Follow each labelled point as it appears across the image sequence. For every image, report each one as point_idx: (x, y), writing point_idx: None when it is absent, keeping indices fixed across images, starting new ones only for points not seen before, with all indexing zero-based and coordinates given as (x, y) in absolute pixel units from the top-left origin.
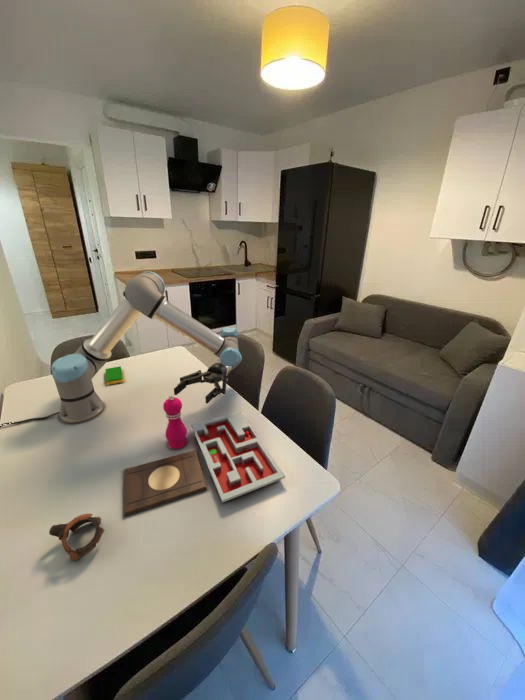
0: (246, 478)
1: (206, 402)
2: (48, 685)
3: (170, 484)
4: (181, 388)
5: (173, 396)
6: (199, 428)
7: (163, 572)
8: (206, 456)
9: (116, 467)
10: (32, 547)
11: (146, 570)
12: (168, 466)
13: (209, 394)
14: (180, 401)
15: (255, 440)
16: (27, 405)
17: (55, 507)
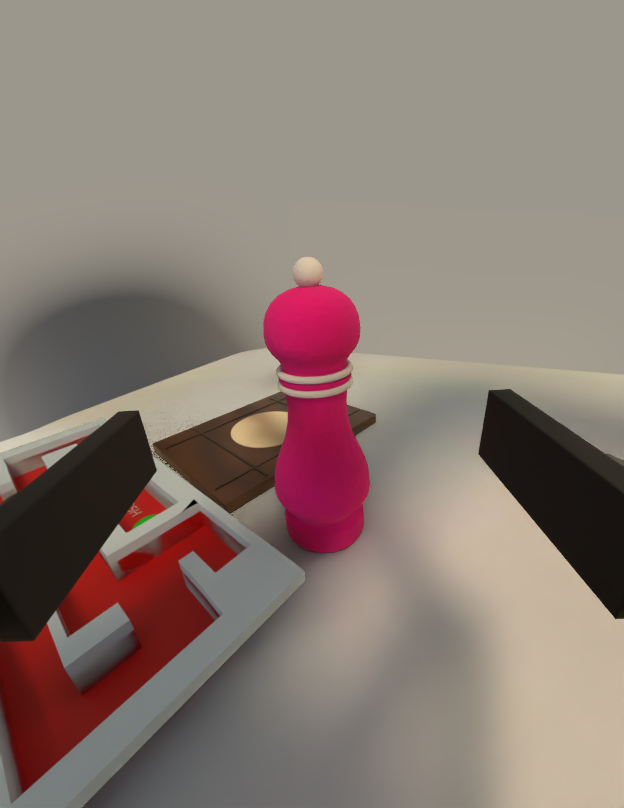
0: None
1: (148, 465)
2: (250, 351)
3: (242, 423)
4: (538, 489)
5: (295, 264)
6: (241, 564)
7: (194, 385)
8: (160, 469)
9: (407, 422)
10: (367, 361)
11: (216, 381)
12: (277, 443)
13: (93, 434)
14: (272, 313)
15: None
16: None
17: (406, 375)
